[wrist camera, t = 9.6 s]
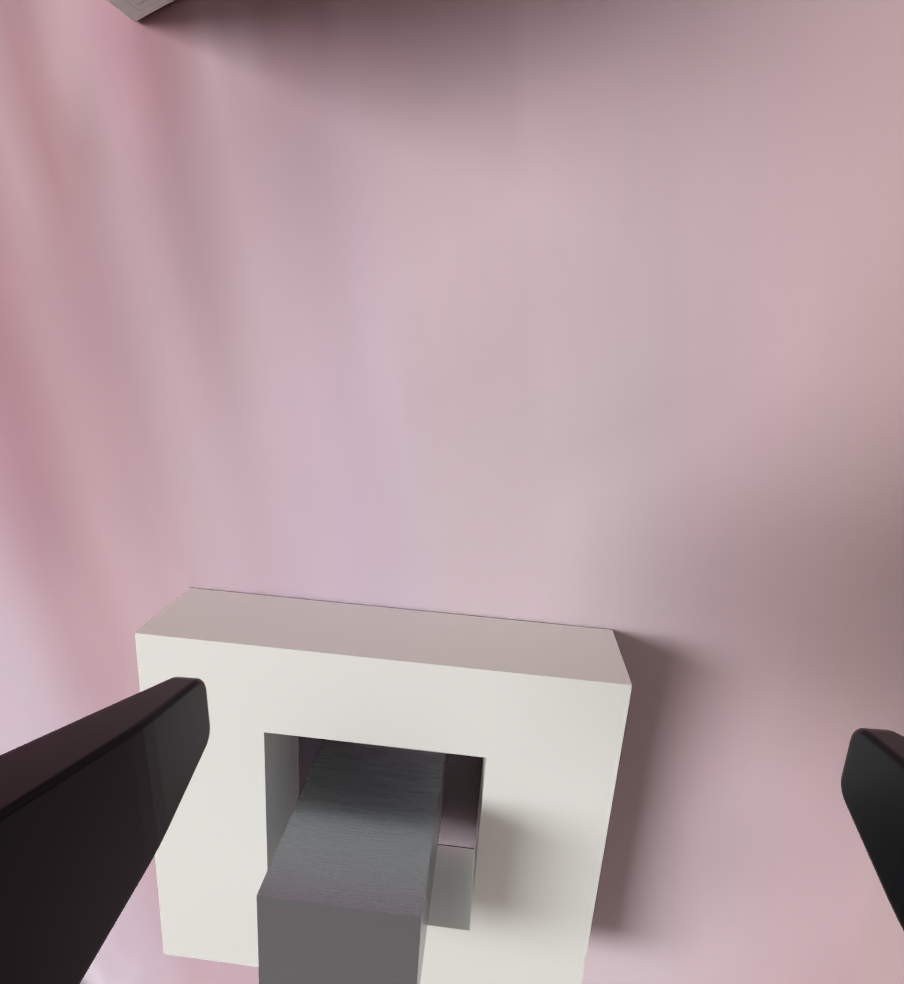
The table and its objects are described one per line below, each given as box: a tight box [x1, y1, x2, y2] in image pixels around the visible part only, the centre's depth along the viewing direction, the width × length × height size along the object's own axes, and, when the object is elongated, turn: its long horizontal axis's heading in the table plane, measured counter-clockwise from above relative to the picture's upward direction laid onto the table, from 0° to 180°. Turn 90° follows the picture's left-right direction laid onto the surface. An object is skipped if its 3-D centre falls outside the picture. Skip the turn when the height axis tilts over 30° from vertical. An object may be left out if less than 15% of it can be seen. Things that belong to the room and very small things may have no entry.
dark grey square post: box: [257, 739, 446, 984], centre depth 20 cm, size 4×4×8 cm
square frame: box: [135, 588, 632, 984], centre depth 23 cm, size 16×14×4 cm
